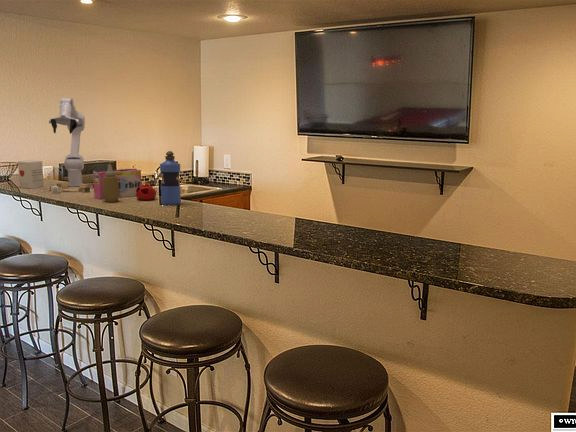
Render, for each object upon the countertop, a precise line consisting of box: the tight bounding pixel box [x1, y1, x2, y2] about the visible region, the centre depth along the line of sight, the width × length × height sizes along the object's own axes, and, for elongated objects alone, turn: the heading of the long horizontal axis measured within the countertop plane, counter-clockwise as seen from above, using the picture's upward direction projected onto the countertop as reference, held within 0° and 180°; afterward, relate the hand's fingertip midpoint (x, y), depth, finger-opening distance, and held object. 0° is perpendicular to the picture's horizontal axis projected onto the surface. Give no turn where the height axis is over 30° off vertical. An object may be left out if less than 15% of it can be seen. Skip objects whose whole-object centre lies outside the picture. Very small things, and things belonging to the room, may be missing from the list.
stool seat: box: [56, 182, 94, 194], centre depth 269 cm, size 20×20×3 cm
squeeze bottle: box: [102, 163, 120, 203], centre depth 235 cm, size 8×8×18 cm
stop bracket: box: [51, 188, 61, 195], centre depth 257 cm, size 2×4×3 cm, turn 59°
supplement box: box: [17, 159, 45, 190], centre depth 275 cm, size 9×9×15 cm
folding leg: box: [49, 185, 63, 193], centre depth 264 cm, size 8×3×3 cm, turn 59°
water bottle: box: [159, 150, 182, 206], centre depth 232 cm, size 9×9×25 cm
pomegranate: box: [135, 181, 157, 201], centre depth 244 cm, size 10×10×9 cm
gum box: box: [92, 168, 143, 200], centre depth 252 cm, size 24×8×14 cm, turn 134°
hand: (62, 132), depth 255 cm, fingers open, 7 cm apart
